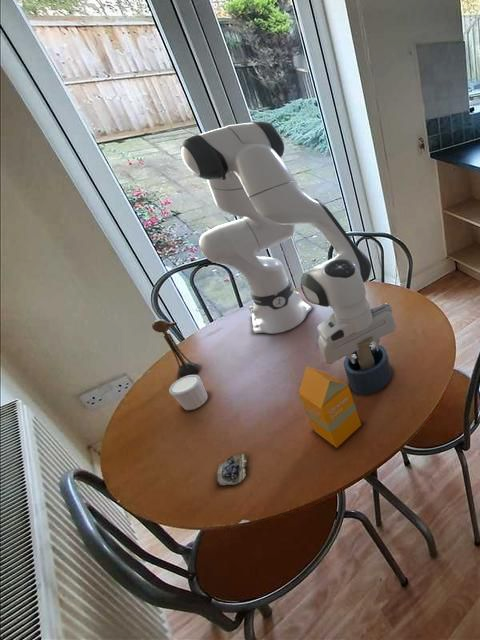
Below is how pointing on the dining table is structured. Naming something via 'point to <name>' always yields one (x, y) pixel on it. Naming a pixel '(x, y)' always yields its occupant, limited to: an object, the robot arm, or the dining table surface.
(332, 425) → the orange juice
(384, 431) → the dining table surface
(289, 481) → the dining table surface
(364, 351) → the handle
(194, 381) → the white ribbed cylinder
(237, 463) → the mineral rock
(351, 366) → the jar
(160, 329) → the wooden tabletop sculpture
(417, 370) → the dining table surface
